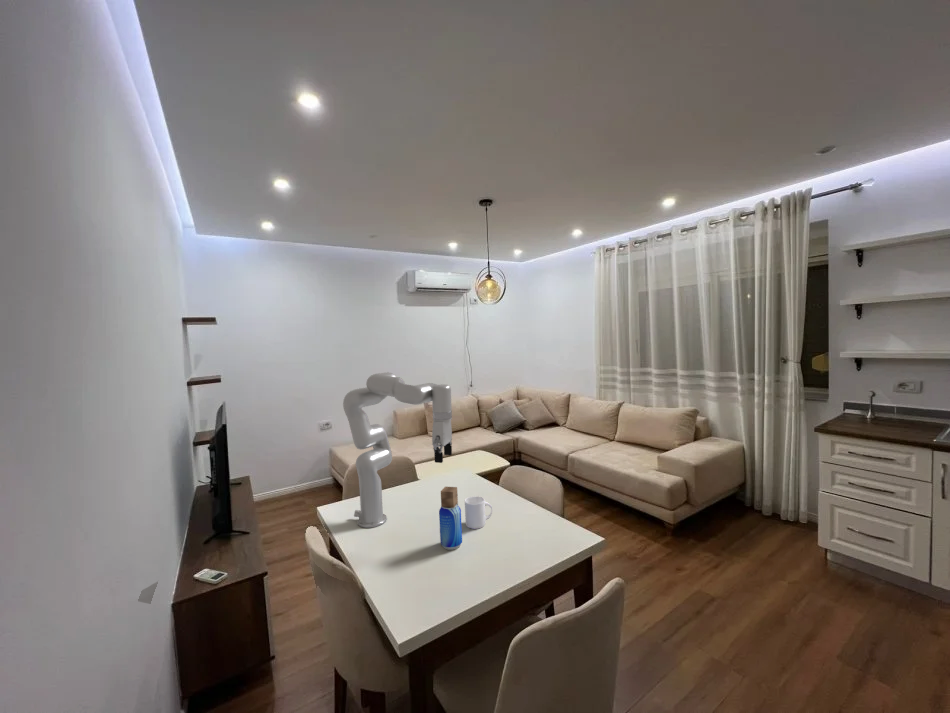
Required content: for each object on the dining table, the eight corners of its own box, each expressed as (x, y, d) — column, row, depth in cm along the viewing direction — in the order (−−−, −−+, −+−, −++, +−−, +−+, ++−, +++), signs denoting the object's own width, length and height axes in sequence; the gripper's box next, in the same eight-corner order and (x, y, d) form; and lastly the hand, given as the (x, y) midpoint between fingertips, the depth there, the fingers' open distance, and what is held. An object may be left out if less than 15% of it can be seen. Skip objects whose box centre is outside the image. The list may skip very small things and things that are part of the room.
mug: (495, 526, 164) (494, 501, 163) (468, 530, 161) (467, 505, 160) (489, 517, 172) (488, 493, 172) (463, 521, 169) (462, 497, 169)
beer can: (436, 546, 149) (434, 505, 149) (451, 537, 156) (450, 498, 155) (451, 553, 144) (449, 511, 143) (466, 544, 150) (465, 503, 149)
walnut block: (441, 506, 147) (440, 491, 147) (445, 501, 152) (445, 486, 152) (453, 507, 146) (453, 492, 146) (457, 502, 151) (457, 487, 151)
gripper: (441, 411, 162) (443, 451, 163) (424, 420, 145) (425, 464, 146) (458, 412, 160) (459, 453, 160) (442, 420, 143) (444, 466, 144)
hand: (443, 458), depth 153 cm, fingers open, 9 cm apart
